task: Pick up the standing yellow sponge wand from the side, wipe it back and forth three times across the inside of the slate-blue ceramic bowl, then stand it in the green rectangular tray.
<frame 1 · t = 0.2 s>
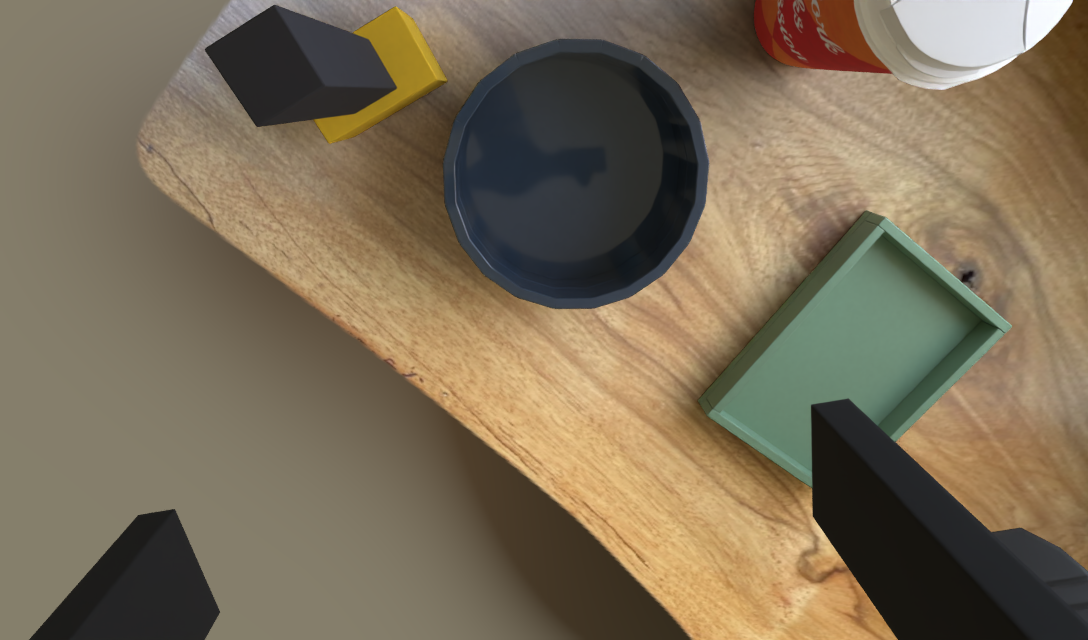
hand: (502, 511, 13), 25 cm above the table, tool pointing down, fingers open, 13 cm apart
green rectangular tray: (840, 358, 41), on the table
bowl: (569, 172, 36), on the table
sponge wand: (382, 79, 34), on the table
paper cup: (802, 12, 34), on the table
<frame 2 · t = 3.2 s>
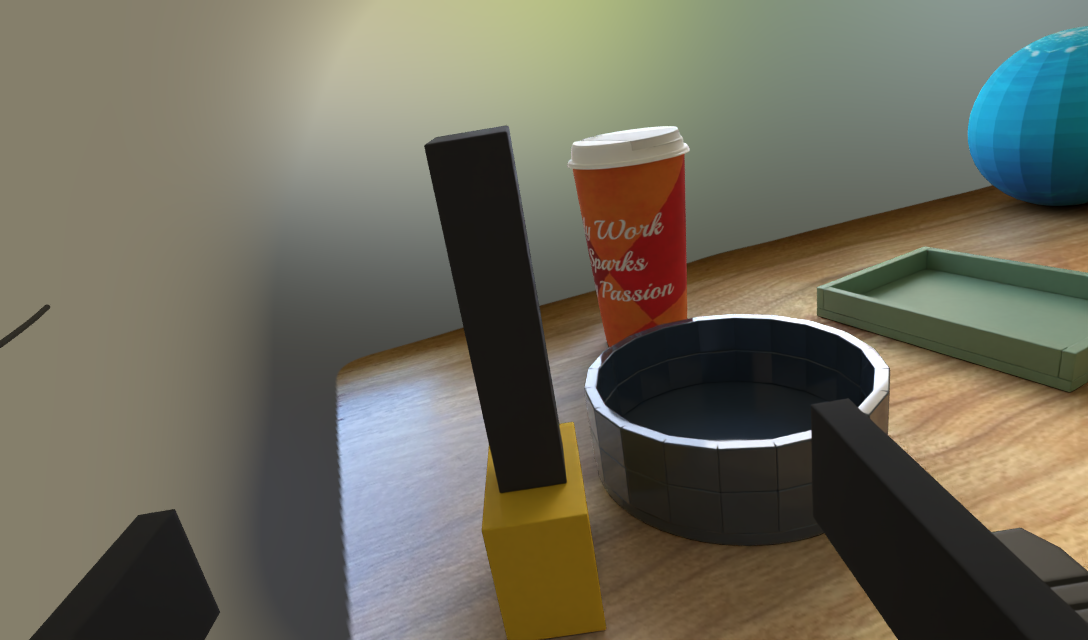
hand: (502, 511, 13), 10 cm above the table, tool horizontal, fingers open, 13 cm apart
green rectangular tray: (980, 319, 40), on the table
bowl: (732, 451, 31), on the table
sponge wand: (553, 575, 25), on the table
paper cup: (647, 341, 45), on the table
decorative orb: (1058, 205, 59), on the table
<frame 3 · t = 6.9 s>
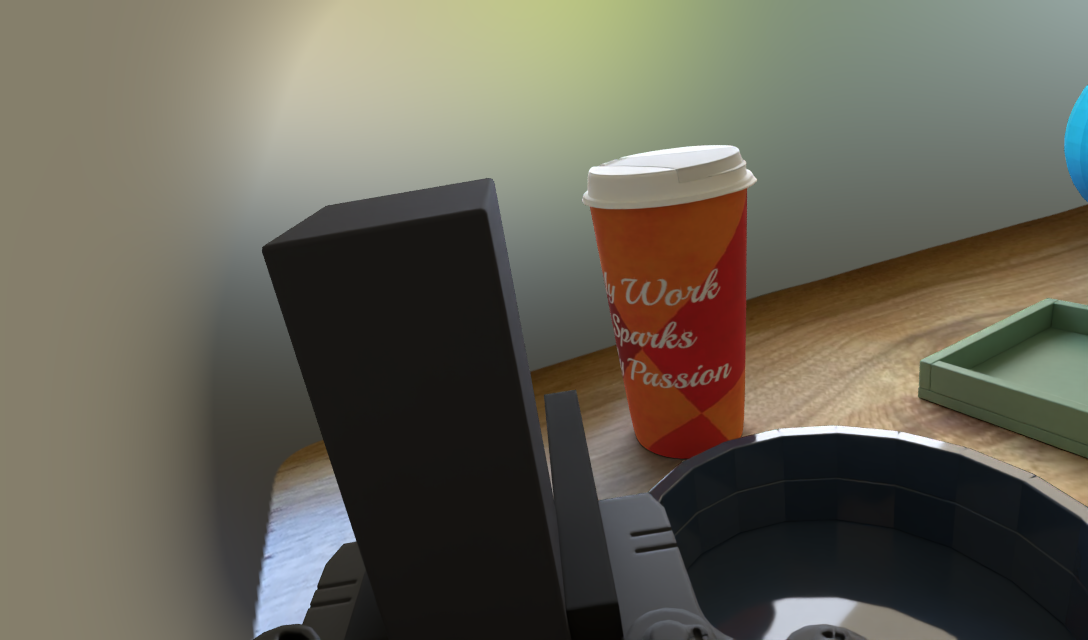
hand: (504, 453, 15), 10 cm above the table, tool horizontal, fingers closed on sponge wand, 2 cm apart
paper cup: (689, 432, 34), on the table
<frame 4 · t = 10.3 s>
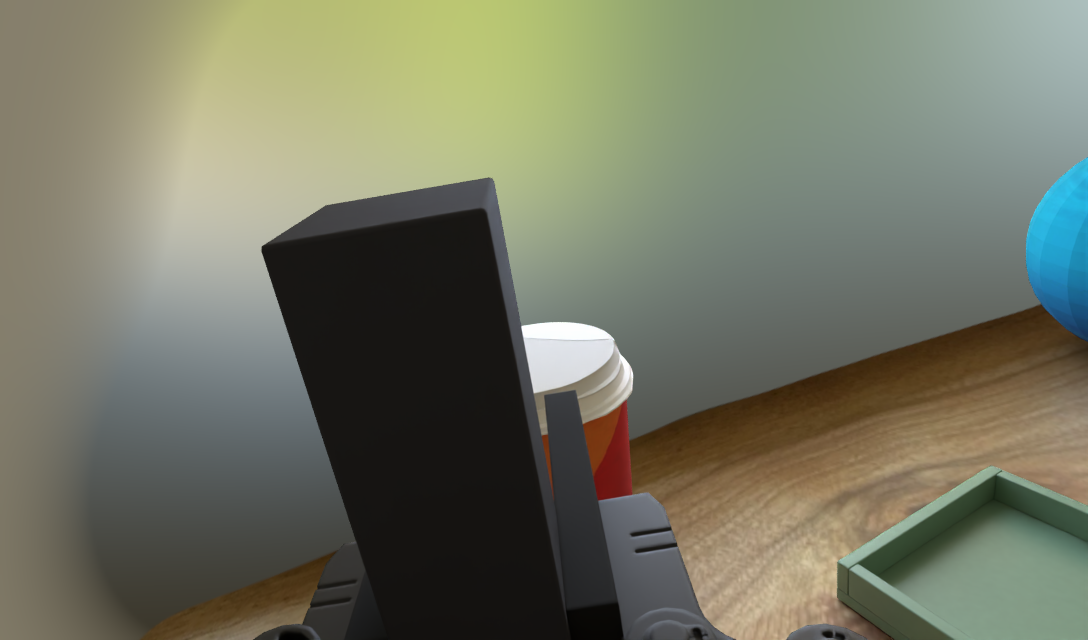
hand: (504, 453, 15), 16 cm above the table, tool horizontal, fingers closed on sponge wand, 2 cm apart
paper cup: (580, 632, 30), on the table
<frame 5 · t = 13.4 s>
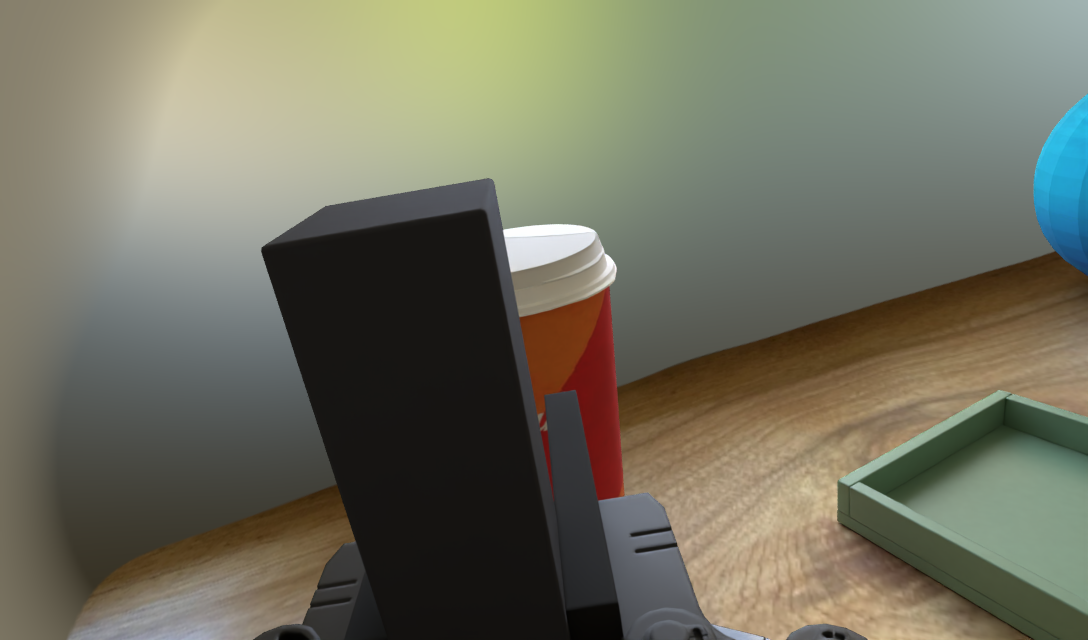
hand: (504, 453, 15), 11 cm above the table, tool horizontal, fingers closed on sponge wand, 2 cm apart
paper cup: (565, 560, 28), on the table
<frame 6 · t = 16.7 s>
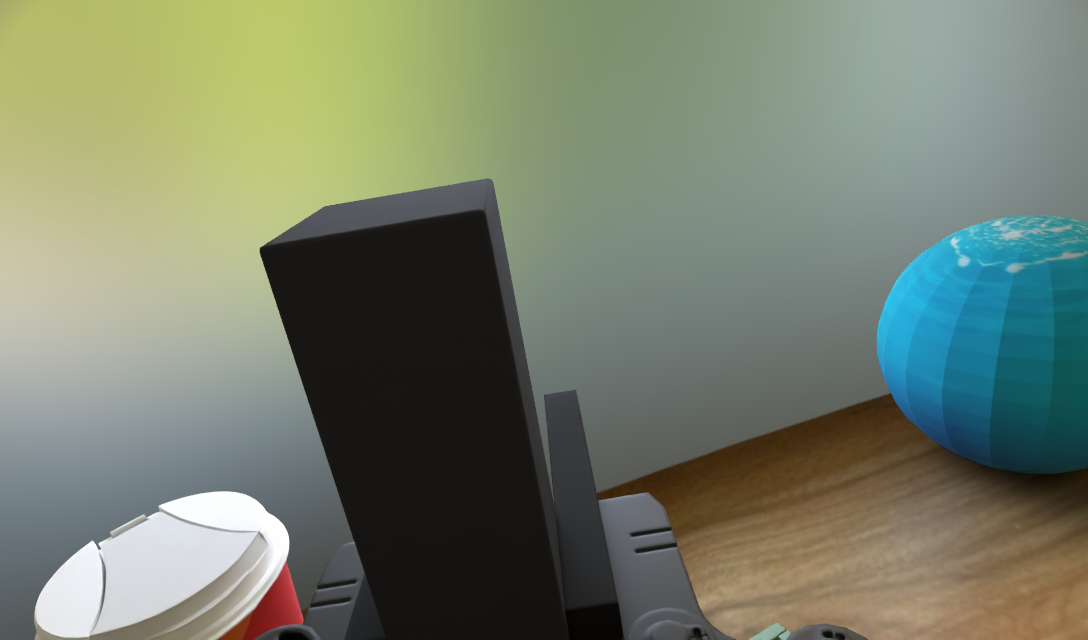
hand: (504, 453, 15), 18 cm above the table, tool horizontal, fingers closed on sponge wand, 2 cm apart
decorative orb: (1007, 454, 40), on the table
when the fingers open (11 cm above the table, at t = 20.0 s): sponge wand stays where it is, resting on green rectangular tray.
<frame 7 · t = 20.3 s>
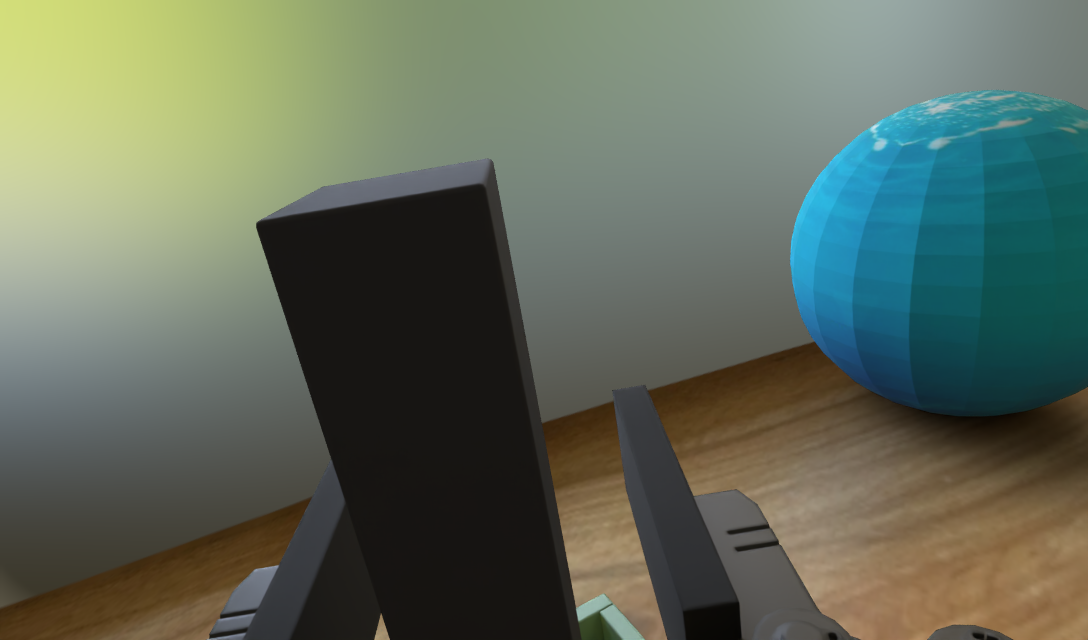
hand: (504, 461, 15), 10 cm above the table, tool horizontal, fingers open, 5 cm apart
decorative orb: (948, 400, 33), on the table
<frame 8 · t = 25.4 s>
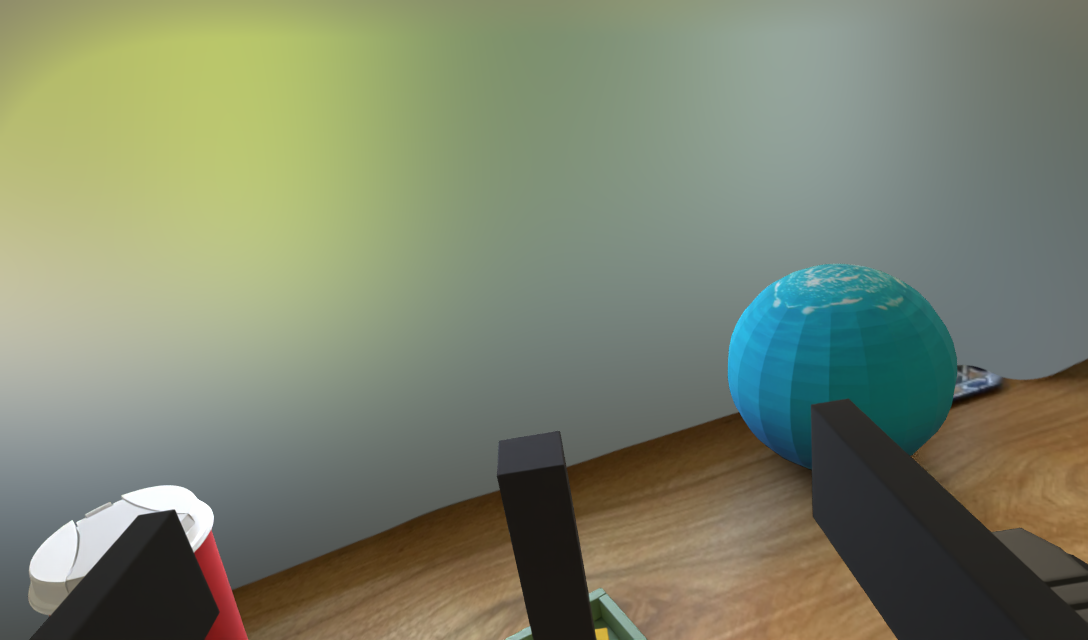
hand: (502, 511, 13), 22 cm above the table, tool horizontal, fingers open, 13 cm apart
decorative orb: (834, 458, 49), on the table
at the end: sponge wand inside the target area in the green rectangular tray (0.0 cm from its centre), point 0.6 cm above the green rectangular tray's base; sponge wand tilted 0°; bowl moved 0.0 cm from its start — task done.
